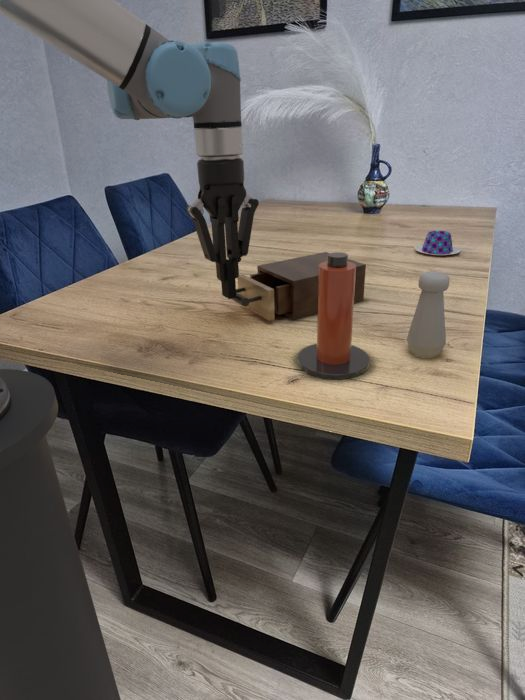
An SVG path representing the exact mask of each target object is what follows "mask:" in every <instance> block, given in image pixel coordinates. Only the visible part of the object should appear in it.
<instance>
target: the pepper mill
mask: <svg viewBox="0 0 525 700" xmlns="http://www.w3.org/2000/svg"><path fill="white" fill-rule="evenodd" d="M328 253H329V254H328V257H327V261H326V262H322V263H320V264H319V272H318V312H317V314H316V315H317V317H316V318H317V319H316V344H317V352H316V357H317V359H318V360H319V361H320V362H322V363H325V364H329V365H341V364H345V363H347V362H348V361H349V360H350V358H351V345H352V339H353V325H354V324H353V323H354V308H355V303H354V292H355V276H356V265H355V264H354V263H352V262H348V259H349V255H348V254H347V253H345V252H341V251H339V252H328Z"/></svg>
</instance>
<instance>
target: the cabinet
mask: <svg viewBox="0 0 525 700" xmlns="http://www.w3.org/2000/svg"><path fill="white" fill-rule="evenodd" d="M329 253H330V252H327V251H324V252H319V253H318V252H317V253H313V254H309V255H303V256H298V257H294V258H289V259H284V260H279V261H274V262H269V263H264V264H258V265H257V267H256V268H257V273H261V272H264V273H267V274H269V275H271V276H274V277H276V278H278V279H280V280H283V281H285V282H287V283H289V284H291V312H288V313H284V314H283V316H286V317H287V318H289V319H290V320H293V321H295V320H299V319H302V318H305V317H310V316H313V315H317V312H318V272H319V264H320V263H322V262H326V261H327V257H328V254H329ZM348 262H352V263H354V264H355V265H356V276H355V292H354V304H356V303H360V302H364V297H365V284H366V283H365V282H366V270H367V264H365V263H363V262H359V261H357V260H353V259H351V258H350V259H349V258H348Z"/></svg>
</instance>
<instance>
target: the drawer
mask: <svg viewBox="0 0 525 700" xmlns="http://www.w3.org/2000/svg"><path fill="white" fill-rule="evenodd" d="M231 301H234V302H236V303H237V304H239V305H240V306H242V307H245V308H247V309H248V310H250V311H252V312H254V313H255V314H257V315H259V316H261V317H262V318H264V319H266V320H268V321H273V320H275V319H276V318H275V314H276V315H277V316H279V315H280V316H281V315H284V313H288V312H291V284H289V283H287V282H285V281H283V280H280V279H278V278H276V277H274V276H271V275H269V274H267V273H264V272H261V273H258V272H257V273H253V274H250V276H247V275H245V274H241V273H240V274H239V277H238V278H237V288H236V298H232V299H231Z"/></svg>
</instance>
